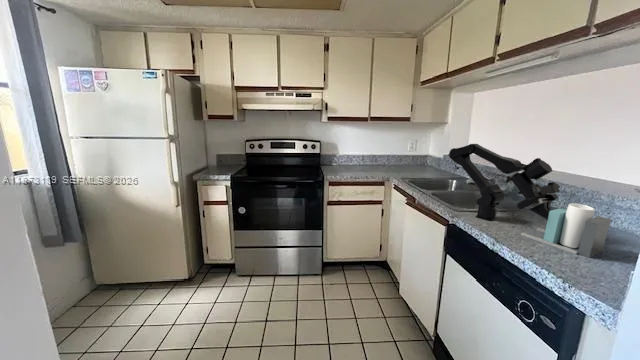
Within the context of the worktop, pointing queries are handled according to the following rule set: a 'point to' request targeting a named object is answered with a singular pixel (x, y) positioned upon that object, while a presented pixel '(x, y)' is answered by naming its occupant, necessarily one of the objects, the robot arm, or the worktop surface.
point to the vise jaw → (555, 225)
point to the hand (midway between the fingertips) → (552, 221)
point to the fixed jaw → (585, 237)
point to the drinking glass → (575, 224)
